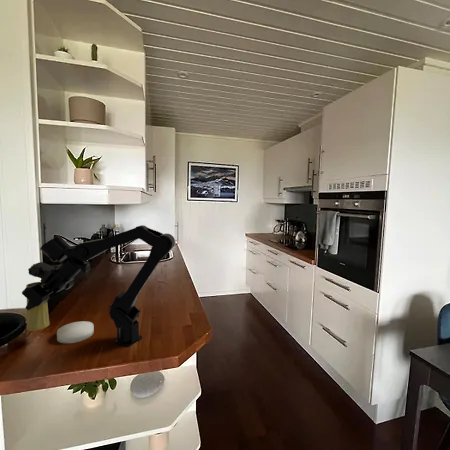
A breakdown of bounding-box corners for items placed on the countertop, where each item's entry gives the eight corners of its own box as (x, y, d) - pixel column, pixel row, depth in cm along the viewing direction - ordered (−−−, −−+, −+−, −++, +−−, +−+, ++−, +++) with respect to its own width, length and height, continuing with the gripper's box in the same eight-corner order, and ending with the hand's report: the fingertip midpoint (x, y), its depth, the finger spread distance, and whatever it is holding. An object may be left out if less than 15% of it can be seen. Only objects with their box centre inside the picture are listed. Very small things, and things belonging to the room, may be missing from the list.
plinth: (100, 331, 94) (100, 324, 94) (71, 346, 84) (71, 338, 84) (79, 325, 98) (79, 319, 98) (49, 339, 88) (49, 331, 88)
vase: (25, 326, 86) (23, 283, 85) (47, 321, 91) (45, 280, 90) (28, 333, 82) (26, 288, 81) (51, 326, 86) (49, 284, 85)
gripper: (63, 249, 94) (33, 280, 94) (26, 260, 75) (-11, 298, 76) (87, 271, 95) (57, 301, 95) (56, 286, 76) (19, 324, 77)
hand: (33, 305), depth 86 cm, fingers closed on vase, 5 cm apart
